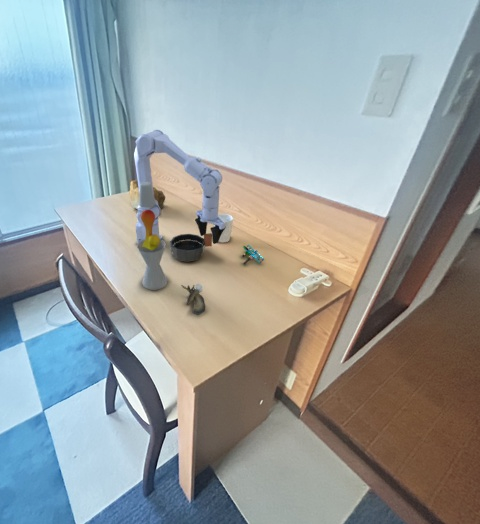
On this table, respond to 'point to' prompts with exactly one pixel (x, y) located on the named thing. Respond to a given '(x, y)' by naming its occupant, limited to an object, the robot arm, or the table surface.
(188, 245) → the black cooking pot
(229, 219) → the white cup
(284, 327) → the table surface
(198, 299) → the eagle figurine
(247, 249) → the stick construction toy
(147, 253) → the lava lamp
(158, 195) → the rough brown rock
